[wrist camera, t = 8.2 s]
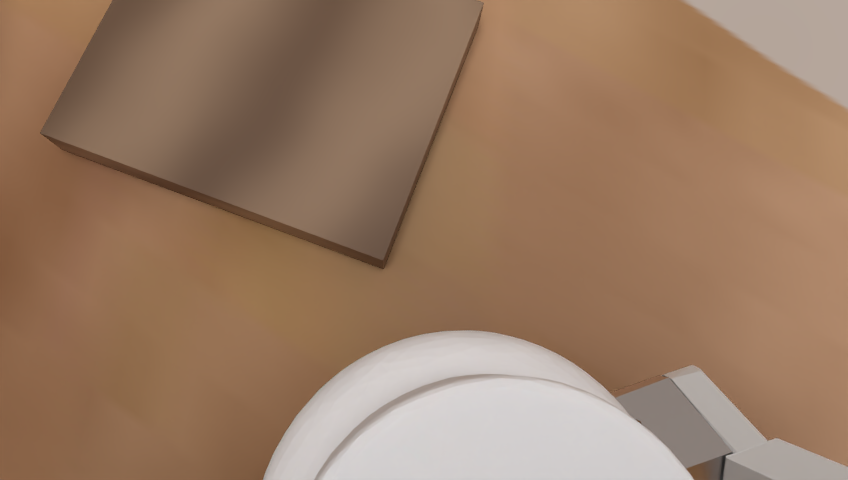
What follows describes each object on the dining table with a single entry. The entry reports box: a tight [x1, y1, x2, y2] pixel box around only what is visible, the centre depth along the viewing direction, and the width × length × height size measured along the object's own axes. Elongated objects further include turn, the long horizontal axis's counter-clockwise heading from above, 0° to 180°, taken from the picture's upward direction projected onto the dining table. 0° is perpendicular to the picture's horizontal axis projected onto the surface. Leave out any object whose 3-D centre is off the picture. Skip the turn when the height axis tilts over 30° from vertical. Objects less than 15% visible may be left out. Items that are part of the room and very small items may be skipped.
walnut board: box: [40, 0, 484, 269], centre depth 23 cm, size 12×10×2 cm
